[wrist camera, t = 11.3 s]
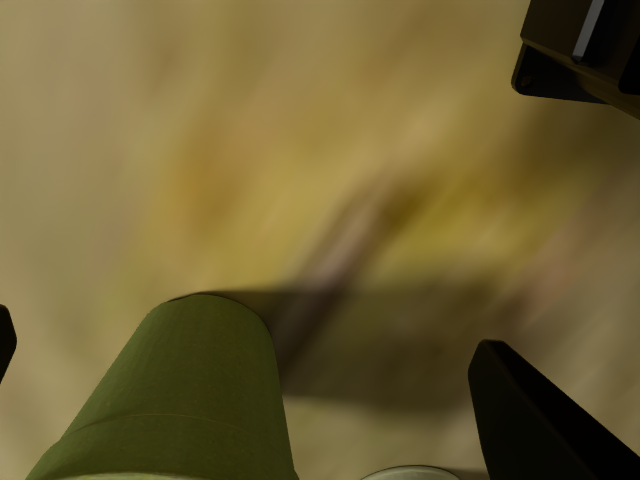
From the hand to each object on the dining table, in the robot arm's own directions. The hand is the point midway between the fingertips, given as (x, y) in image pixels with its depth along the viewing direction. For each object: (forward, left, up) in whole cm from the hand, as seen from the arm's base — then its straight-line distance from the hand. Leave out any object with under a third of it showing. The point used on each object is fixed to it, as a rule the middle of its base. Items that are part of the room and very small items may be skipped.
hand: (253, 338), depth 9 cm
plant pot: (+3, +12, -12) cm, 17 cm away
